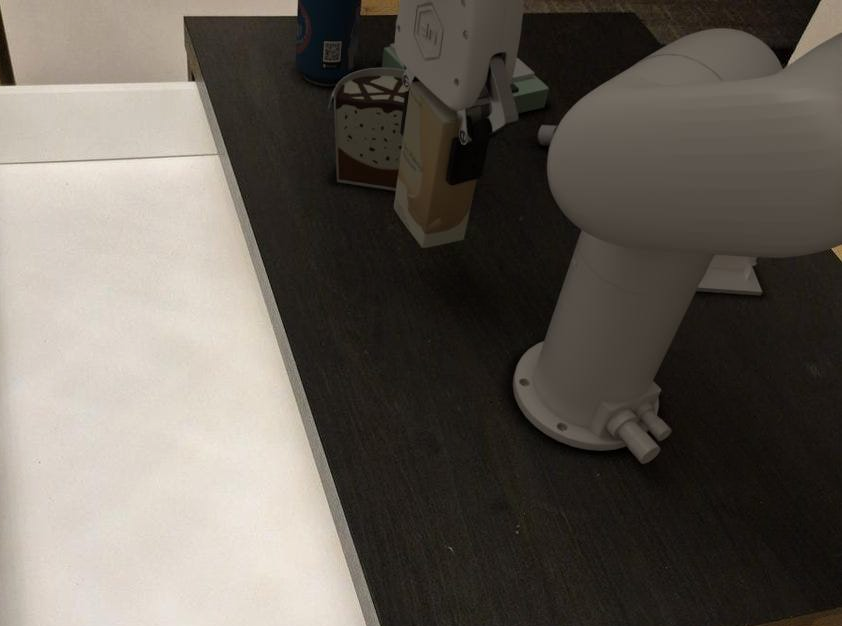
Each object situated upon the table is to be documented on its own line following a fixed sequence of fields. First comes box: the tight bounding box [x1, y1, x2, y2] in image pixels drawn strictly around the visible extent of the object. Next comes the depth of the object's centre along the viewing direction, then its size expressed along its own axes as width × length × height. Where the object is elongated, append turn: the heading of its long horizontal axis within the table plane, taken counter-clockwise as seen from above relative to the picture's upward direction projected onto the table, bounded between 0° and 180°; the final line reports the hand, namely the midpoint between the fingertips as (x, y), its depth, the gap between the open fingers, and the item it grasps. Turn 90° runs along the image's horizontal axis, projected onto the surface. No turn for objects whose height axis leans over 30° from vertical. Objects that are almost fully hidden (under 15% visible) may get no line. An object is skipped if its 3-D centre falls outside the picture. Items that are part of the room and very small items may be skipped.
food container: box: [326, 67, 409, 192], centre depth 96 cm, size 12×6×10 cm, turn 84°
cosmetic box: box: [393, 81, 481, 249], centre depth 79 cm, size 6×4×12 cm
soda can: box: [295, 0, 362, 87], centre depth 105 cm, size 7×7×12 cm
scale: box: [381, 42, 550, 114], centre depth 110 cm, size 14×14×3 cm
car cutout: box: [696, 255, 763, 296], centre depth 93 cm, size 15×7×4 cm, turn 91°
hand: (440, 154), depth 79 cm, fingers closed on cosmetic box, 6 cm apart
